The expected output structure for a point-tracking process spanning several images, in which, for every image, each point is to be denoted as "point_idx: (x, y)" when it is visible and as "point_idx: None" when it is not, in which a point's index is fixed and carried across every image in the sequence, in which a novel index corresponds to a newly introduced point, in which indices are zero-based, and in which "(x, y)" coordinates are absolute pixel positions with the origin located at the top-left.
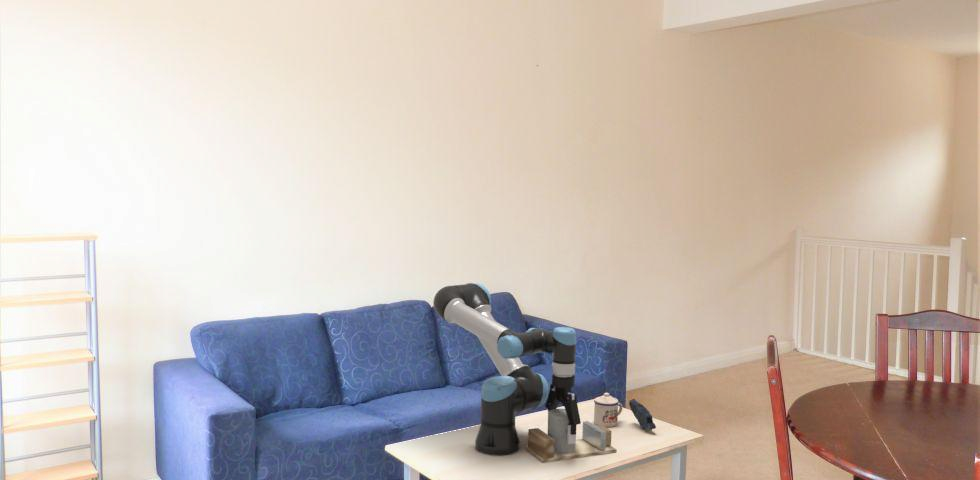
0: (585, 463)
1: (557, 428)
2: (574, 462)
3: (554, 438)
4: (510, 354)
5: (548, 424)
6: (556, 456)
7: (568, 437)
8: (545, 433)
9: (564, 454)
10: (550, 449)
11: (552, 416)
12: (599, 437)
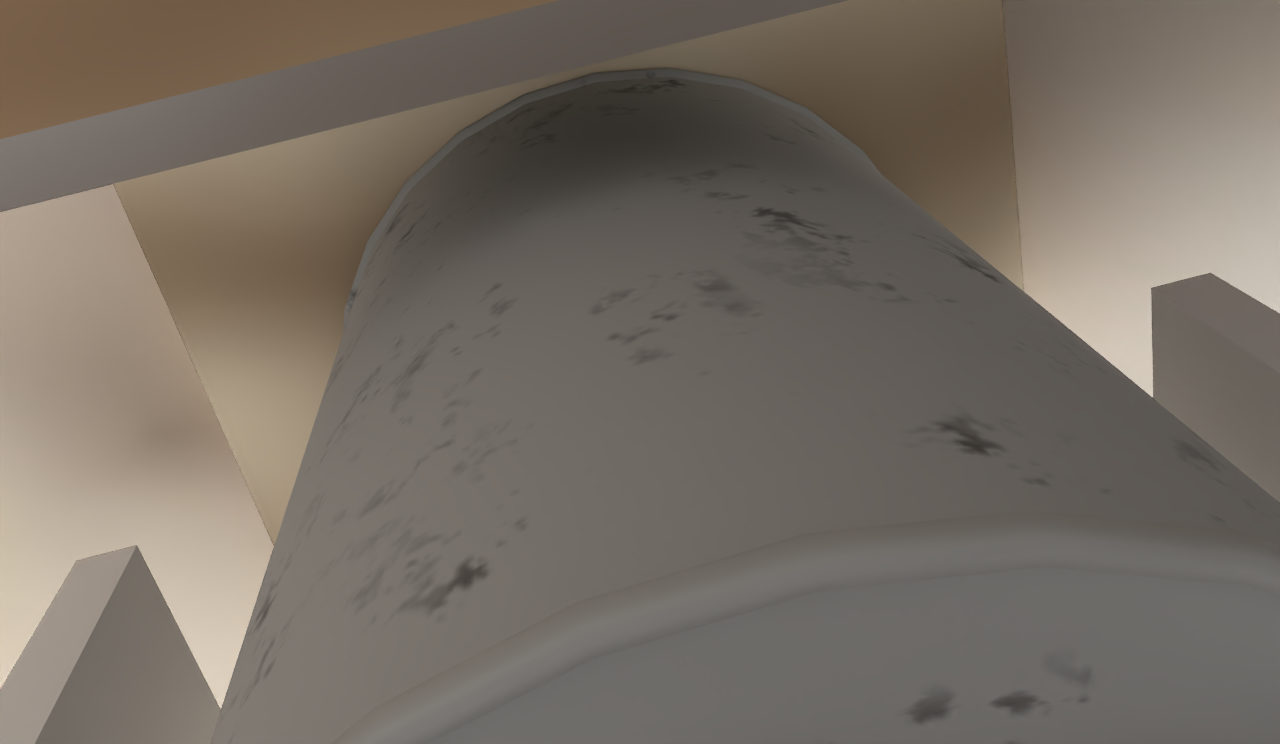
0: (16, 629)
1: (295, 532)
2: (52, 464)
3: (402, 287)
4: None
5: (764, 278)
6: (179, 169)
7: (18, 679)
8: (574, 49)
9: (312, 364)
10: None
11: (438, 682)
12: None
